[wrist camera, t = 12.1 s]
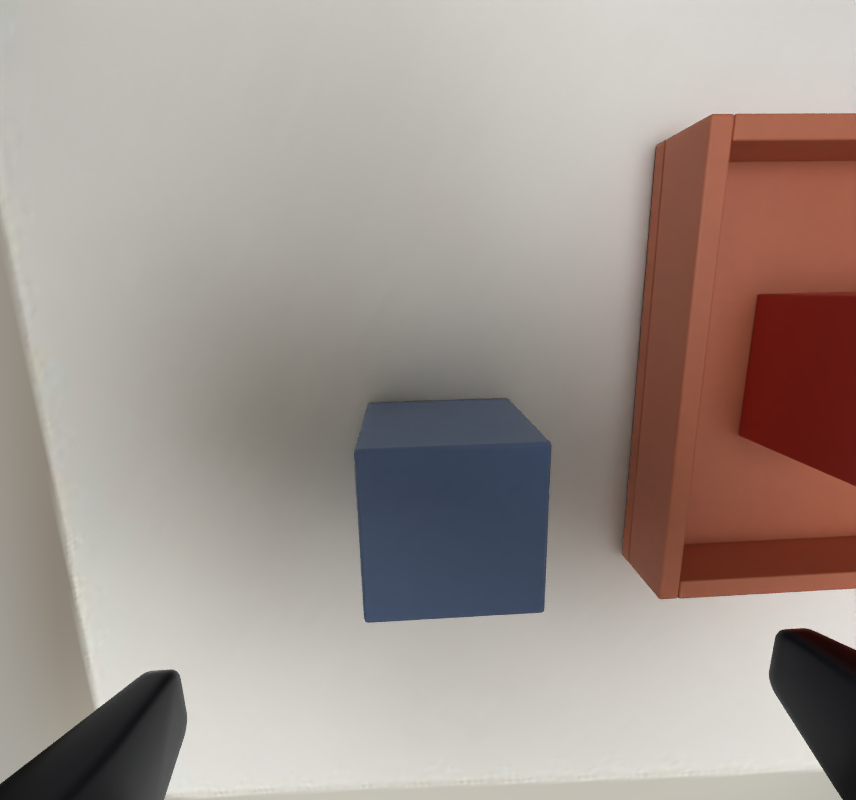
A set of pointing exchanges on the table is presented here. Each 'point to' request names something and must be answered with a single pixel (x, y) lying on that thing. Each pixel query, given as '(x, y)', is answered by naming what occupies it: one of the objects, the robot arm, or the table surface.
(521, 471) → the blue block
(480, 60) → the table surface
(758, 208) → the terracotta tray
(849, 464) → the red block
